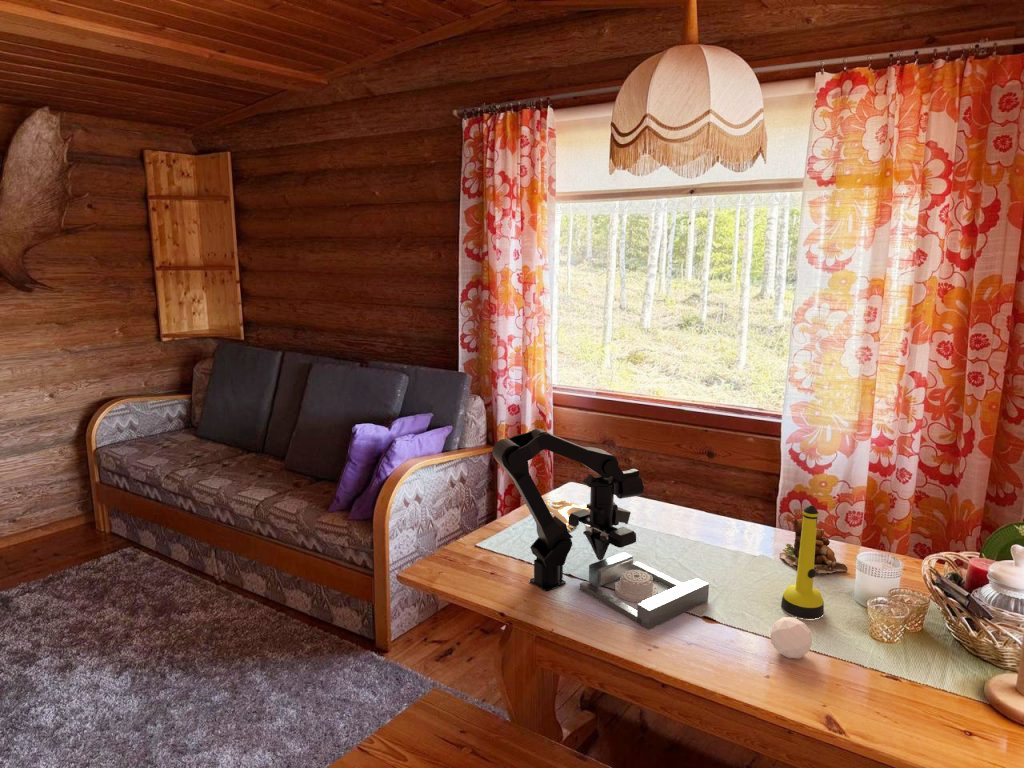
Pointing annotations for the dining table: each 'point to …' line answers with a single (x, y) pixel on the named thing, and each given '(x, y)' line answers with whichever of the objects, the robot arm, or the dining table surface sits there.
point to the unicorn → (564, 510)
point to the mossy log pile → (823, 553)
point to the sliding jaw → (610, 569)
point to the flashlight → (805, 574)
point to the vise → (656, 599)
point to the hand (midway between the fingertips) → (600, 559)
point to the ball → (791, 637)
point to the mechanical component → (636, 586)
